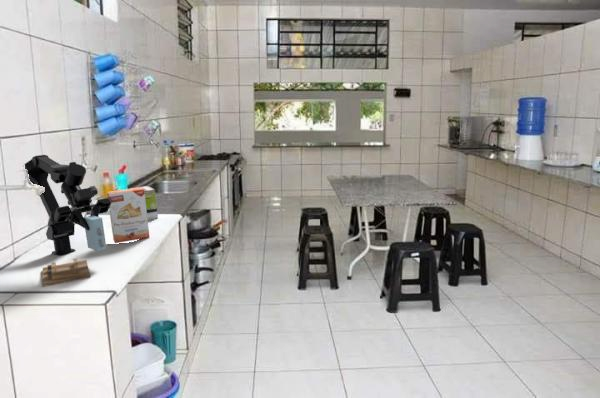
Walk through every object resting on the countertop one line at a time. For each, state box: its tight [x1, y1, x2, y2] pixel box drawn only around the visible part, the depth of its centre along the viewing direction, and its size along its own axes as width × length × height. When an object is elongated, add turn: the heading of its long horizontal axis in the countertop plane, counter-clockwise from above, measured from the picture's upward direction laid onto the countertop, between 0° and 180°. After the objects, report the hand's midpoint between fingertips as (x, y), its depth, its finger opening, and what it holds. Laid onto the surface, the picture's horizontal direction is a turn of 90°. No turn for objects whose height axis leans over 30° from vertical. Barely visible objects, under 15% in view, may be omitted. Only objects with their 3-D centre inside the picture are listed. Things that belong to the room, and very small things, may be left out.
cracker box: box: [106, 187, 150, 244], centre depth 198 cm, size 14×6×21 cm, turn 118°
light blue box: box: [83, 215, 107, 252], centre depth 166 cm, size 8×3×11 cm, turn 49°
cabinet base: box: [41, 258, 91, 288], centre depth 162 cm, size 18×14×3 cm
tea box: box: [129, 185, 159, 221], centre depth 238 cm, size 15×10×15 cm, turn 30°
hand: (93, 228), depth 166 cm, fingers closed on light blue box, 3 cm apart
